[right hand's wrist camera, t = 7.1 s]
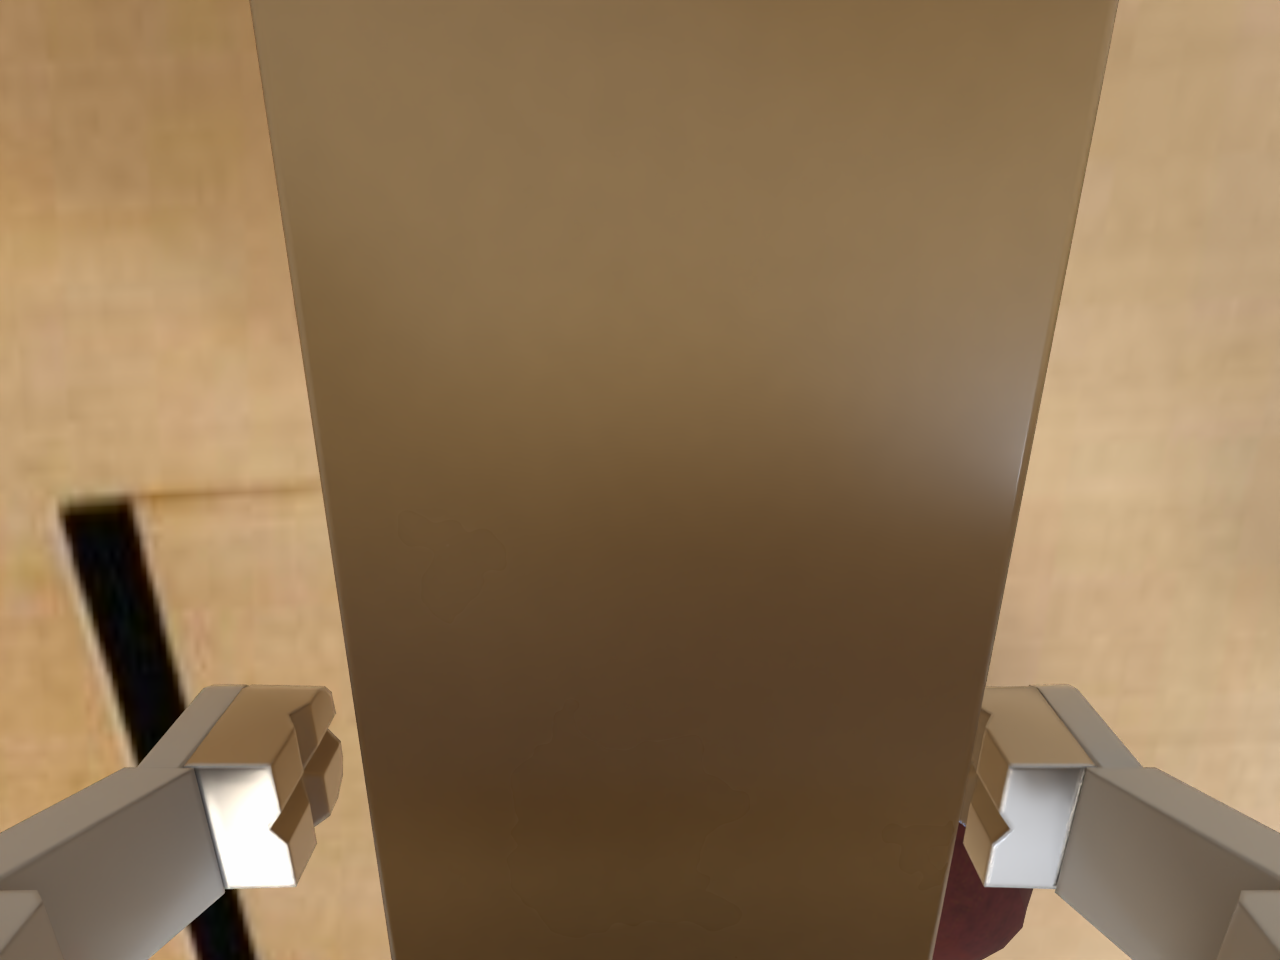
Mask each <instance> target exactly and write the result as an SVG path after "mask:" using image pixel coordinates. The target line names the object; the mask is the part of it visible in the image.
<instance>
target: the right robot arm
mask: <svg viewBox="0 0 1280 960" xmlns="http://www.w3.org/2000/svg"><path fill="white" fill-rule="evenodd" d="M335 714H336V711H335V707H334V702H333V697H332V692H331V691H330V690H329V689H327V688H326V687H325V686H290V685H250V686H249V685H211V686H208V687H206V688H203V689H202V690H201V692H200V693H199V694H198V695H197V696H196V698H195V699H194V700H193V701H192V702H191V704H190V705H189V706H188V707H187V708H186V709H185V711H184V712H183V713H182V714H181V715H180V717H179V718H178V719H177V720H176V721H175V723H174V724H173V725H172V726H171V727H170V729H169V730H168V731H167V732H166V733H165V735H164V736H163V737H162V738H161V739H160V740H159V742H158V743H157V744H156V745H155V746H154V748H153V749H152V750H151V751H150V752H149V754H148V755H147V756H146V757H145V758H144V760H143V761H142V762H141V763H140V764H139V766H138V767H137V768H123V769H121V770H119V771H117V772H115V773H113V774H111V775H109V776H108V777H106V778H104V779H102V780H100V781H98V782H96V783H94V784H92V785H90V786H89V787H87V788H85V789H83V790H81V791H79V792H77V793H75V794H73V795H71V796H70V797H68V798H66V799H64V800H62V801H60V802H58V803H56V804H54V805H52V806H51V807H49V808H47V809H45V810H43V811H41V812H39V813H37V814H35V815H33V816H32V817H30V818H28V819H26V820H24V821H22V822H20V823H18V824H16V825H14V826H13V827H11V828H9V829H7V830H5V831H3V832H1V833H0V960H148V959H149V958H150V957H151V956H152V955H154V954H155V953H156V952H157V951H158V950H159V949H161V948H162V947H163V946H164V945H165V944H166V943H167V942H169V941H170V940H171V939H172V938H173V937H174V936H176V935H177V934H178V933H179V932H180V931H181V930H183V929H184V928H185V927H186V926H187V925H188V924H189V923H191V922H192V921H193V920H194V919H195V918H196V917H198V916H199V915H200V914H201V913H202V912H203V911H204V910H206V909H207V908H208V907H209V906H210V905H211V904H213V903H214V902H215V901H216V900H217V899H218V898H220V897H221V896H222V895H223V894H224V893H225V890H224V889H240V888H275V887H296V886H297V884H298V882H299V879H300V877H301V875H302V873H303V871H304V869H305V867H306V865H307V863H308V861H309V859H310V857H311V855H312V852H313V850H314V848H315V846H316V844H317V841H316V835H315V830H314V827H315V826H316V825H318V824H319V823H321V822H322V821H323V820H325V819H326V818H327V817H329V816H330V815H331V812H332V810H333V808H334V806H335V803H336V801H337V799H338V795H339V791H340V786H341V781H342V777H343V754H342V747H341V741H340V740H339V739H338V738H337V737H336V736H335V735H334V734H333V733H332V732H331V731H330V730H329V729H328V727H329V725H330V723H331V721H332V719H333V718H334V716H335ZM959 823H961V824H962V825H964V826H965V827H966V830H965V835H964V841H963V844H964V846H965V848H966V850H967V852H968V855H969V857H970V859H971V861H972V863H973V865H974V867H975V869H976V871H977V873H978V875H979V877H980V879H981V881H982V883H983V886H984V887H1004V888H1039V889H1056V890H1055V893H1056V894H1057V895H1059V896H1060V897H1061V898H1062V899H1063V900H1064V901H1066V902H1067V903H1068V904H1069V905H1070V906H1071V907H1072V908H1074V909H1075V910H1076V911H1077V912H1078V913H1079V914H1081V915H1082V916H1083V917H1084V918H1085V919H1086V920H1087V921H1089V922H1090V923H1091V924H1092V925H1093V926H1094V927H1095V928H1097V929H1098V930H1099V931H1100V932H1101V933H1102V934H1104V935H1105V936H1106V937H1107V938H1108V939H1109V940H1110V941H1112V942H1113V943H1114V944H1115V945H1116V946H1117V947H1119V948H1120V949H1121V950H1122V951H1123V952H1124V953H1125V954H1127V955H1128V956H1129V957H1130V958H1131V959H1132V960H1280V833H1278V832H1277V831H1275V830H1273V829H1271V828H1269V827H1267V826H1265V825H1263V824H1261V823H1260V822H1258V821H1256V820H1254V819H1252V818H1250V817H1248V816H1246V815H1244V814H1242V813H1241V812H1239V811H1237V810H1235V809H1233V808H1231V807H1229V806H1227V805H1225V804H1224V803H1222V802H1220V801H1218V800H1216V799H1214V798H1212V797H1210V796H1208V795H1207V794H1205V793H1203V792H1201V791H1199V790H1197V789H1195V788H1193V787H1191V786H1189V785H1188V784H1186V783H1184V782H1182V781H1180V780H1178V779H1176V778H1174V777H1172V776H1171V775H1169V774H1167V773H1165V772H1163V771H1161V770H1159V769H1157V768H1143V767H1142V766H1141V764H1140V763H1139V762H1138V761H1137V760H1136V758H1135V757H1134V756H1133V755H1132V754H1131V752H1130V751H1129V750H1128V749H1127V748H1126V746H1125V745H1124V744H1123V743H1122V742H1121V741H1120V739H1119V738H1118V737H1117V736H1116V735H1115V733H1114V732H1113V731H1112V730H1111V729H1110V727H1109V726H1108V725H1107V724H1106V723H1105V722H1104V720H1103V719H1102V718H1101V717H1100V716H1099V714H1098V713H1097V712H1096V711H1095V710H1094V708H1093V707H1092V706H1091V705H1090V704H1089V702H1088V701H1087V700H1086V699H1085V698H1084V697H1083V695H1082V694H1081V693H1080V692H1079V691H1078V689H1076V688H1074V687H1073V686H1071V685H1069V684H1053V685H1029V686H1014V687H985V691H984V696H983V701H982V706H981V711H980V717H979V722H978V727H977V732H976V737H975V742H974V747H973V753H972V758H971V763H970V768H969V773H968V778H967V783H966V789H965V794H964V799H963V804H962V809H961V814H960V820H959Z"/></svg>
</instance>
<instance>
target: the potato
mask: <svg viewBox="0 0 1280 960" xmlns="http://www.w3.org/2000/svg"><path fill="white" fill-rule="evenodd" d="M965 830H966V827H965V826H964V825H962V824H961V823H959V825H958V830H957V835H956V840H955V845H954V850H953V856H952V861H951V866H950V871H949V876H948V881H947V886H946V892H945V897H944V902H943V907H942V912H941V917H940V922H939V928H938V933H937V938H936V943H935V948H934V953H933V958H932V960H982V959H984V958H986V957H988V956H990V955H991V954H993V953H995V952H997V951H999V950H1001V949H1002V948H1004V947H1005V946H1006V945H1007V944H1008V942H1009V941H1010V940H1011V939H1012V938H1013V937H1014V936H1015V935H1016V934H1017V933H1018V932H1019V931H1020V929H1021V928H1022V927H1023V923H1024V918H1025V914H1026V910H1027V906H1028V903H1029V900H1030V897H1031V894H1032V891H1033V888H1004V887H984V886H983V883H982V881H981V879H980V877H979V875H978V873H977V871H976V869H975V867H974V865H973V863H972V861H971V859H970V857H969V855H968V852H967V850H966V848H965V846H964V844H963V841H964V835H965Z"/></svg>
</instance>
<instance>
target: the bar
mask: <svg viewBox="0 0 1280 960" xmlns="http://www.w3.org/2000/svg"><path fill="white" fill-rule="evenodd" d="M1118 1H1119V0H250V7H251V13H252V20H253V27H254V34H255V40H256V47H257V54H258V61H259V67H260V74H261V81H262V88H263V94H264V101H265V108H266V115H267V121H268V128H269V135H270V142H271V148H272V155H273V162H274V169H275V175H276V182H277V189H278V196H279V202H280V209H281V216H282V223H283V229H284V236H285V243H286V250H287V256H288V263H289V270H290V277H291V283H292V290H293V297H294V304H295V310H296V317H297V324H298V331H299V337H300V344H301V351H302V358H303V364H304V371H305V378H306V385H307V391H308V398H309V405H310V412H311V418H312V425H313V432H314V439H315V445H316V452H317V459H318V466H319V472H320V479H321V486H322V493H323V499H324V506H325V513H326V520H327V526H328V533H329V540H330V547H331V553H332V560H333V567H334V574H335V580H336V587H337V594H338V601H339V607H340V614H341V621H342V628H343V634H344V641H345V648H346V655H347V661H348V668H349V675H350V682H351V688H352V695H353V702H354V709H355V715H356V722H357V729H358V736H359V742H360V749H361V756H362V763H363V769H364V776H365V783H366V790H367V796H368V803H369V810H370V817H371V823H372V830H373V837H374V844H375V850H376V857H377V864H378V871H379V877H380V884H381V891H382V898H383V904H384V911H385V918H386V925H387V931H388V938H389V945H390V952H391V958H392V960H932V958H933V953H934V948H935V943H936V938H937V933H938V928H939V922H940V917H941V912H942V907H943V902H944V897H945V892H946V886H947V881H948V876H949V871H950V866H951V861H952V856H953V850H954V845H955V840H956V835H957V830H958V825H959V820H960V814H961V809H962V804H963V799H964V794H965V789H966V783H967V778H968V773H969V768H970V763H971V758H972V753H973V747H974V742H975V737H976V732H977V727H978V722H979V717H980V711H981V706H982V701H983V696H984V691H985V686H986V681H987V675H988V670H989V665H990V660H991V655H992V650H993V645H994V639H995V634H996V629H997V624H998V619H999V614H1000V609H1001V603H1002V598H1003V593H1004V588H1005V583H1006V578H1007V572H1008V567H1009V562H1010V557H1011V552H1012V547H1013V542H1014V536H1015V531H1016V526H1017V521H1018V516H1019V511H1020V506H1021V500H1022V495H1023V490H1024V485H1025V480H1026V475H1027V470H1028V464H1029V459H1030V454H1031V449H1032V444H1033V439H1034V434H1035V428H1036V423H1037V418H1038V413H1039V408H1040V403H1041V398H1042V392H1043V387H1044V382H1045V377H1046V372H1047V367H1048V361H1049V356H1050V351H1051V346H1052V341H1053V336H1054V331H1055V325H1056V320H1057V315H1058V310H1059V305H1060V300H1061V295H1062V289H1063V284H1064V279H1065V274H1066V269H1067V264H1068V259H1069V253H1070V248H1071V243H1072V238H1073V233H1074V228H1075V223H1076V217H1077V212H1078V207H1079V202H1080V197H1081V192H1082V187H1083V181H1084V176H1085V171H1086V166H1087V161H1088V156H1089V150H1090V145H1091V140H1092V135H1093V130H1094V125H1095V120H1096V114H1097V109H1098V104H1099V99H1100V94H1101V89H1102V84H1103V78H1104V73H1105V68H1106V63H1107V58H1108V53H1109V48H1110V42H1111V37H1112V32H1113V27H1114V22H1115V17H1116V12H1117V6H1118Z"/></svg>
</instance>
